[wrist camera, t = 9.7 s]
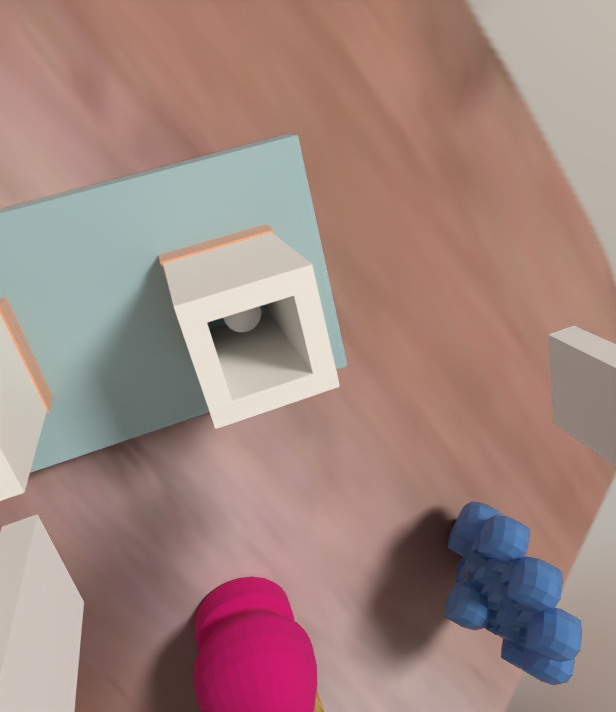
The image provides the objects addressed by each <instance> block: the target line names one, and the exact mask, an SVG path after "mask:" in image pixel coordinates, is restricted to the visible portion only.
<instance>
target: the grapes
mask: <svg viewBox="0 0 616 712" xmlns="http://www.w3.org/2000/svg"><path fill="white" fill-rule="evenodd" d="M529 537H530V528H528V527H527V526H525V525H524V524H522V523H520V522H518V521H516V520H514V519H512V518H510V517H507V516H503V514H502V513H500V512H499V511H497V510H496V509H494V508H492V507H490V506H488V505H486V504H483V503H480V502H470V503H468V504H466V505H465V506H464V507H463V509H462V511H461V512H460V514H459V516H458V519H457V521H456V522H455V524H454V526H453V528H452V529H451V532H450V536H449V542H448V548H449V549H450V550H452V551H454V552H455V553H457V554H459V555H461V556H463V557H462V559H461V560H460V562H459V564H458V569H457V574H456V582H458V583H456V584H454V586H453V588H452V589H451V591H450V593H449V595H448V598H447V603H446V609H445V617H446V618H448V619H450V620H451V621H453V622H455V623H456V624H458V625H460V626H461V627H464V628H468V629H471V630H479V629H482V628H486V629H487V630H488V631H490V632H492V633H494V634H495V635H498V636H500V637H502V638H503V643H502V649H501V658H503V659H504V660H506V661H508V662H509V663H511V664H513V665H514V666H516V667H518V668H520V669H522V670H523V671H525V672H527V673H529V674H530V675H532V676H534V677H535V678H537V679H539V680H540V681H543V682H546V683H549V684H551V685H557V684H563V683H567V682H568V681H569V679H570V678H571V676H572V675H573V669H574V662H575V657H576V655H577V654H578V653H579V651H580V647H581V639H582V628H581V620H579V619H578V618H576V617H574V616H573V615H571V614H569V613H567V612H565V611H563V610H562V609H558V608H555V606H556V605H557V603H558V602H559V600H560V599H561V592H562V584H563V578H562V571H561V570H559V569H558V568H556V567H555V566H553V565H551V564H549V563H547V562H545V561H543V560H540V559H537V558H531V557H524V556H525V554H526V553H527V549H528V543H529Z"/></svg>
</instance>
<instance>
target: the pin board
mask: <svg viewBox="0 0 616 712" xmlns="http://www.w3.org/2000/svg"><path fill="white" fill-rule="evenodd" d="M265 224H267V225H268V226H269V227H271V228H272V229H273V230H274V234H275V235H276V236H277V237H278V238H280V239H281V240H282V241H283V242H285V243H286V244H287V245H288V246H290V247H291V248H292V249H293V250H295V251H296V252H297V253H299V254H300V255H301V256H302V257H304V258H305V259H306V260H307V261H309V262H310V263H311V264H312V265H313V270H314V274H315V279H316V283H317V288H318V292H319V296H320V301H321V305H322V310H323V314H324V319H325V323H326V327H327V332H328V336H329V341H330V345H331V350H332V354H333V358H334V363H335V367H336V370H337V369H340V368H343V367H346V366H347V361H346V357H345V352H344V347H343V343H342V338H341V334H340V329H339V324H338V320H337V315H336V310H335V306H334V301H333V297H332V292H331V287H330V283H329V278H328V273H327V269H326V264H325V260H324V255H323V250H322V246H321V241H320V236H319V232H318V227H317V223H316V218H315V213H314V209H313V204H312V199H311V195H310V190H309V185H308V181H307V176H306V172H305V167H304V162H303V158H302V153H301V148H300V144H299V139H298V135H293V134H285V135H281V136H277V137H273V138H270V139H266V140H262V141H258V142H254V143H251V144H247V145H243V146H239V147H235V148H231V149H228V150H224V151H220V152H216V153H212V154H209V155H205V156H201V157H197V158H193V159H190V160H186V161H182V162H178V163H174V164H171V165H167V166H163V167H159V168H155V169H152V170H148V171H144V172H140V173H136V174H133V175H129V176H125V177H121V178H117V179H114V180H110V181H106V182H102V183H98V184H95V185H91V186H87V187H83V188H79V189H76V190H72V191H68V192H64V193H60V194H56V195H53V196H49V197H45V198H41V199H37V200H34V201H30V202H26V203H22V204H18V205H15V206H11V207H7V208H3V209H0V299H1V298H5V297H6V298H7V300H8V302H9V304H10V306H11V308H12V311H13V313H14V315H15V317H16V319H17V321H18V323H19V325H20V328H21V330H22V332H23V334H24V336H25V338H26V340H27V342H28V345H29V347H30V349H31V351H32V353H33V355H34V357H35V359H36V362H37V364H38V366H39V368H40V370H41V372H42V374H43V376H44V379H45V381H46V383H47V385H48V387H49V389H50V391H51V393H52V396H53V402H52V406H51V410H50V412H48V413H46V416H45V419H44V423H43V427H42V430H41V434H40V438H39V441H38V445H37V448H36V452H35V456H34V459H33V463H32V467H31V470H30V473H31V472H34V471H37V470H40V469H43V468H46V467H49V466H52V465H55V464H58V463H61V462H64V461H67V460H70V459H73V458H76V457H79V456H82V455H84V454H87V453H90V452H93V451H96V450H99V449H102V448H105V447H108V446H111V445H114V444H117V443H120V442H123V441H126V440H129V439H132V438H135V437H138V436H141V435H144V434H147V433H150V432H153V431H156V430H159V429H162V428H165V427H168V426H171V425H173V424H176V423H179V422H182V421H185V420H188V419H191V418H194V417H197V416H200V415H203V414H206V413H209V409H208V406H207V403H206V400H205V397H204V394H203V391H202V388H201V385H200V382H199V379H198V376H197V374H196V371H195V368H194V365H193V362H192V359H191V356H190V353H189V350H188V347H187V344H186V341H185V339H184V336H183V333H182V330H181V327H180V324H179V321H178V318H177V315H176V312H175V309H174V306H173V302H172V298H171V294H170V290H169V287H168V284H167V281H166V278H165V275H164V272H163V269H162V267H161V264H160V260H159V255H161V254H164V253H168V252H171V251H174V250H178V249H181V248H185V247H188V246H192V245H195V244H199V243H202V242H206V241H209V240H213V239H216V238H220V237H223V236H227V235H230V234H234V233H237V232H241V231H244V230H248V229H251V228H254V227H258V226H261V225H265ZM265 312H268V310H267V306H266V304H265V305H262V306H259V307H255V308H252V309H249V310H246V311H243V312H239V313H236V314H233V315H230V316H227V317H223V318H220V319H217V320H214V321H210V322H207V324H208V327H209V330H211V329H214V328H217V327H220V326H223V325H227V326H228V327H229V328H230V329H232V330H233V331H236V332H247V331H250V330H252V329H253V328H255V327H256V326H257V324H258V323H259V321H260V319H261V314H262V313H265Z"/></svg>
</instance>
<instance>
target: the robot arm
mask: <svg viewBox="0 0 616 712" xmlns="http://www.w3.org/2000/svg"><path fill="white" fill-rule="evenodd" d="M549 353H550V371H551V389H552V407H553V423H554V424H555V425H557V426H558V427H560V428H561V429H562V430H564V431H565V432H567V433H568V434H570V435H571V436H572V437H574V438H575V439H577V440H578V441H580V442H581V443H582V444H584V445H585V446H587V447H588V448H590V449H591V450H592V451H594V452H595V453H597V454H598V455H600V456H601V457H603V458H604V459H605V460H607V461H608V462H610V463H611V464H613V465H614V466H615V467H616V344H614V343H611V342H609V341H607V340H605V339H602V338H600V337H598V336H596V335H593V334H591V333H589V332H587V331H585V330H582V329H580V328H578V327H576V326H572V327H569V328H566V329H563V330H560V331H557V332H554V333H552V334H549ZM83 608H84V601H83V599H82V597H81V596H80V594H79V592H78V590H77V588H76V586H75V584H74V582H73V581H72V579H71V577H70V575H69V573H68V571H67V569H66V567H65V566H64V564H63V562H62V560H61V558H60V556H59V554H58V552H57V550H56V549H55V547H54V545H53V543H52V541H51V539H50V537H49V535H48V534H47V532H46V530H45V528H44V526H43V524H42V522H41V520H40V519H39V517H38V515H34V516H31V517H28V518H25V519H23V520H20V521H17V522H14V523H11V524H8V525H6V526H3V527H2V529H1V532H0V712H74V709H75V698H76V687H77V676H78V664H79V653H80V642H81V630H82V619H83Z"/></svg>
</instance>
